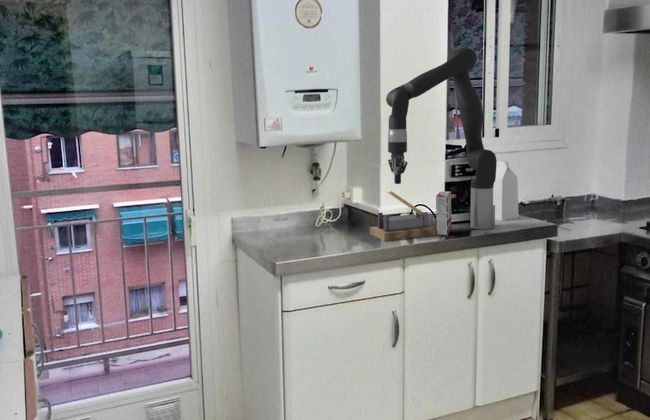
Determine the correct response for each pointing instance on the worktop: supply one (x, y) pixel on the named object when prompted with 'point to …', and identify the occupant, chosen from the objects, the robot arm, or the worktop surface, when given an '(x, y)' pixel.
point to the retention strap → (405, 202)
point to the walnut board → (402, 233)
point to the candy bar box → (443, 213)
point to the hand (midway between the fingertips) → (397, 183)
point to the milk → (505, 192)
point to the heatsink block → (402, 222)
